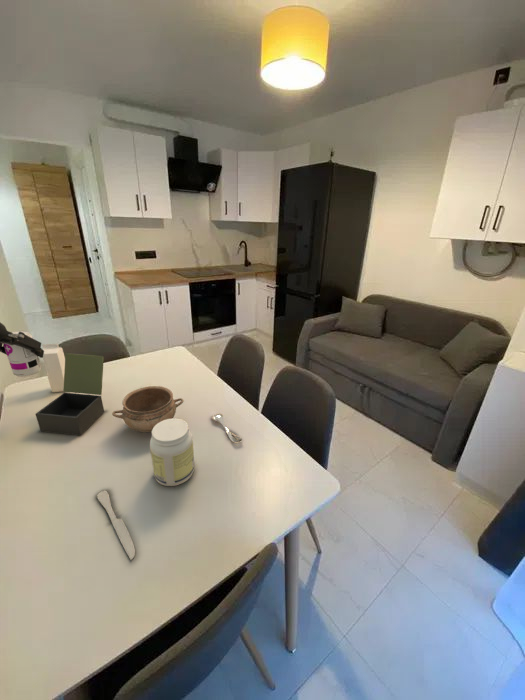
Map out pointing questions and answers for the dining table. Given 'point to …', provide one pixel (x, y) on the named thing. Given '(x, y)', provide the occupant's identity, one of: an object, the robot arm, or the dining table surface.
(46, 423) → the bin
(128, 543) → the butter knife
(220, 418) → the silver spoon
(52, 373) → the milk
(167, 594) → the dining table surface
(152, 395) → the cooking pot
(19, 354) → the supplement can
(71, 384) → the bin lid
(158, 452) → the supplement tub
